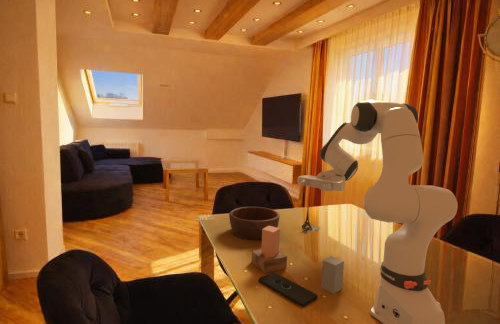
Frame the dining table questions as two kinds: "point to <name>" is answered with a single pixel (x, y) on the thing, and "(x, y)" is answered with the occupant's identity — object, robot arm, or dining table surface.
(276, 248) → the terracotta block
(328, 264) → the grey block
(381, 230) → the dining table surface
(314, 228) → the eiffel tower figurine
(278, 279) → the smart home device
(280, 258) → the walnut base block
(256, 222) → the wooden bowl
